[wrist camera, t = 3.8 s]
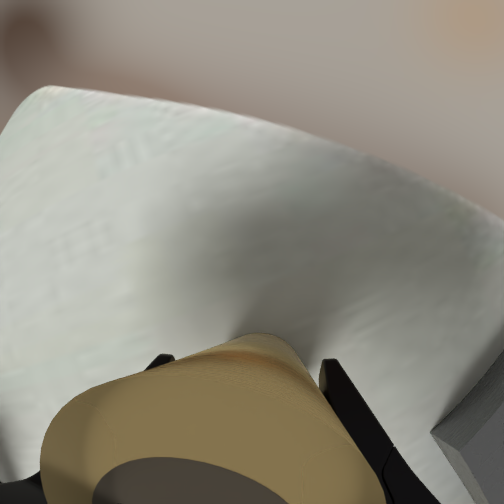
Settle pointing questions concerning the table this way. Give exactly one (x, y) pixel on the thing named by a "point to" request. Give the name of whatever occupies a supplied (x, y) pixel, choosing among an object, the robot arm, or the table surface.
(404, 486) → the robot arm
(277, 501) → the brass sleeve
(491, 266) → the table surface
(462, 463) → the jig block
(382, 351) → the table surface
